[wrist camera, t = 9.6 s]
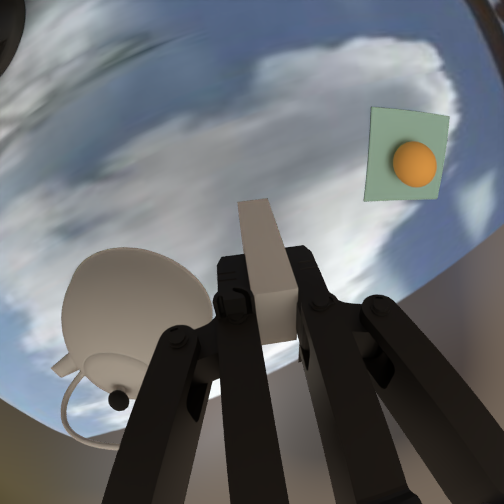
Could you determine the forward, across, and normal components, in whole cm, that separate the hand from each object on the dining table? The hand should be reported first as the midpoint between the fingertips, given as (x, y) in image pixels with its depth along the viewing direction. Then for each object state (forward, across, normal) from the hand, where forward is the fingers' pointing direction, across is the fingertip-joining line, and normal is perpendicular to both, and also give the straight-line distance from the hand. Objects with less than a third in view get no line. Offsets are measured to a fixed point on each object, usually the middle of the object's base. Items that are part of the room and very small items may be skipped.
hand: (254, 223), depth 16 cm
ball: (+15, +20, -4) cm, 26 cm away
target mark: (+18, +21, -4) cm, 28 cm away
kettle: (+19, -18, -23) cm, 35 cm away
